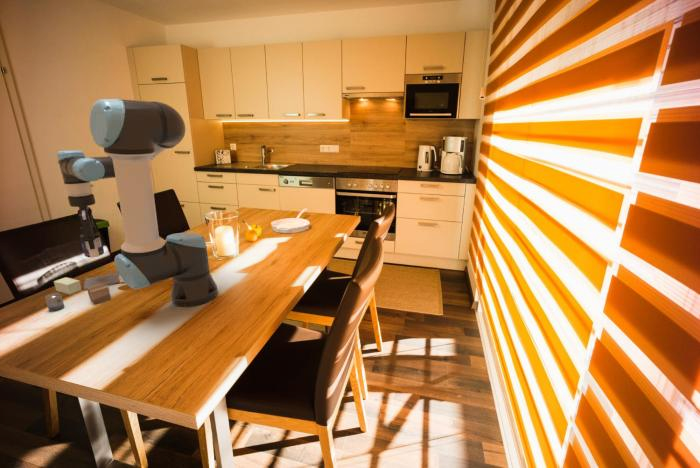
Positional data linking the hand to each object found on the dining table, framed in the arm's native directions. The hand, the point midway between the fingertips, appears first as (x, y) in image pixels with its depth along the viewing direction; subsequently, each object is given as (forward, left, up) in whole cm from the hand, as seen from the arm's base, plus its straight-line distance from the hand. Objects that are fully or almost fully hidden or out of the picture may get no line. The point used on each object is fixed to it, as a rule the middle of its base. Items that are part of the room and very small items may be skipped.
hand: (95, 253), depth 128 cm
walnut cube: (-18, 0, -12) cm, 22 cm away
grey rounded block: (-17, +12, -12) cm, 24 cm away
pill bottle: (0, 0, -1) cm, 1 cm away
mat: (0, 0, -12) cm, 12 cm away
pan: (+32, -99, -12) cm, 104 cm away
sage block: (-2, +10, -12) cm, 16 cm away
